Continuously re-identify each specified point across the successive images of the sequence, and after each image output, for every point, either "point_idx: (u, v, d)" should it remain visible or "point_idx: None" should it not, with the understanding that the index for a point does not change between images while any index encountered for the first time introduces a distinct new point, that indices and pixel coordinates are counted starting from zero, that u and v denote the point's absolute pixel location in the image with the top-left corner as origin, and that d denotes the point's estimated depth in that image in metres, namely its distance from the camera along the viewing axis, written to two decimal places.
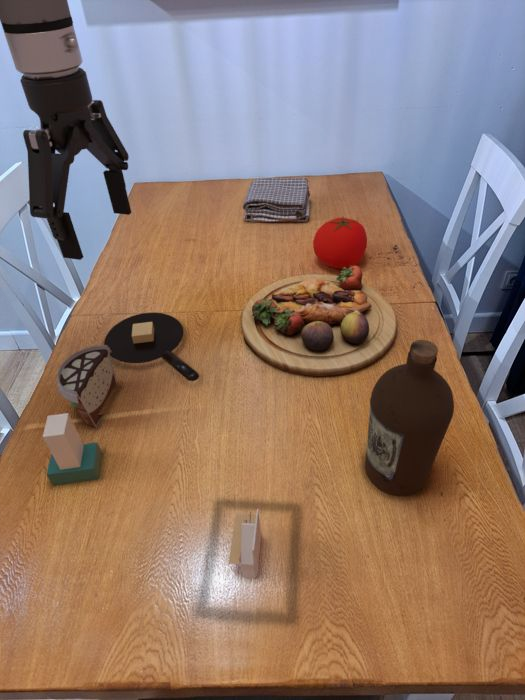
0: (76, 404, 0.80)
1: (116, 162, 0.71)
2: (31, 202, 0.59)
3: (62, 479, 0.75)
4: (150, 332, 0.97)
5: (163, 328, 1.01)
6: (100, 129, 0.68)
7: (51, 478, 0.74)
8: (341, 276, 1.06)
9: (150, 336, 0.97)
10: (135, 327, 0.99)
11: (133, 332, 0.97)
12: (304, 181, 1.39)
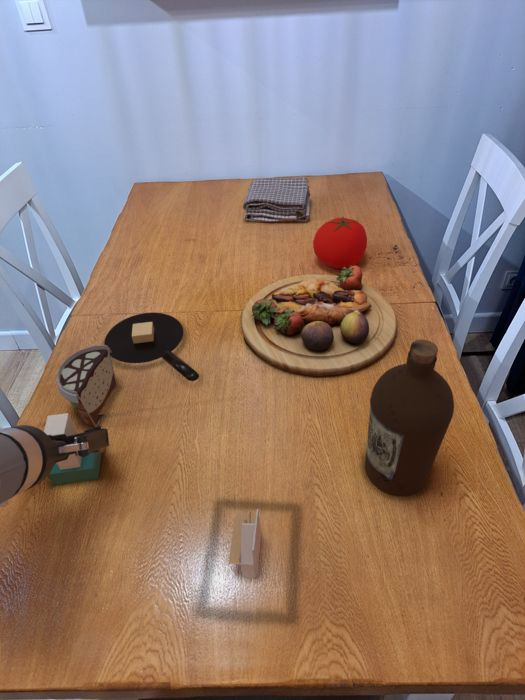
0: (76, 404, 0.80)
1: None
2: None
3: (62, 479, 0.75)
4: (150, 332, 0.97)
5: (163, 328, 1.01)
6: None
7: (51, 478, 0.74)
8: (341, 276, 1.06)
9: (150, 336, 0.97)
10: (135, 327, 0.99)
11: (133, 332, 0.97)
12: (304, 181, 1.39)
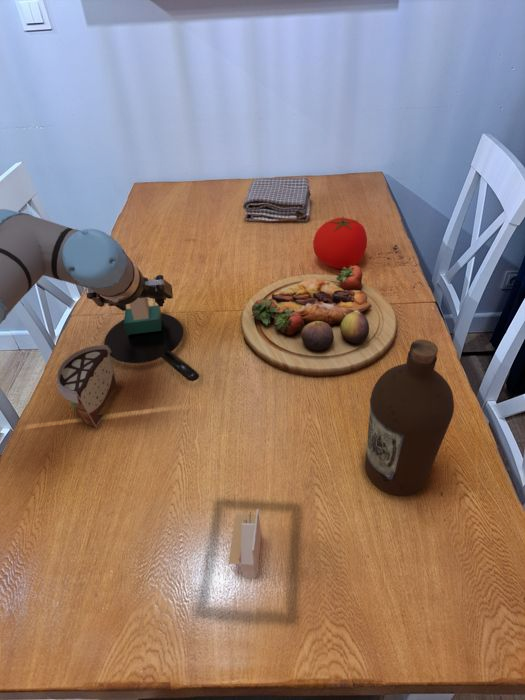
0: (76, 404, 0.80)
1: (156, 298, 0.94)
2: None
3: (134, 328, 0.99)
4: None
5: (163, 328, 1.01)
6: None
7: (126, 327, 0.98)
8: (341, 276, 1.06)
9: None
10: None
11: None
12: (305, 181, 1.39)
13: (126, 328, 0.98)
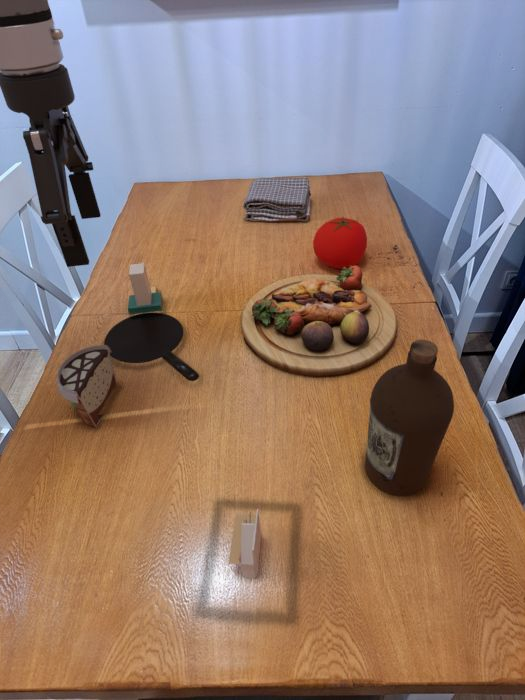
0: (76, 404, 0.80)
1: (83, 163, 0.68)
2: (42, 208, 0.55)
3: None
4: None
5: (163, 328, 1.01)
6: None
7: (130, 312, 1.05)
8: (341, 276, 1.06)
9: None
10: None
11: None
12: (305, 181, 1.39)
13: (130, 313, 1.05)
